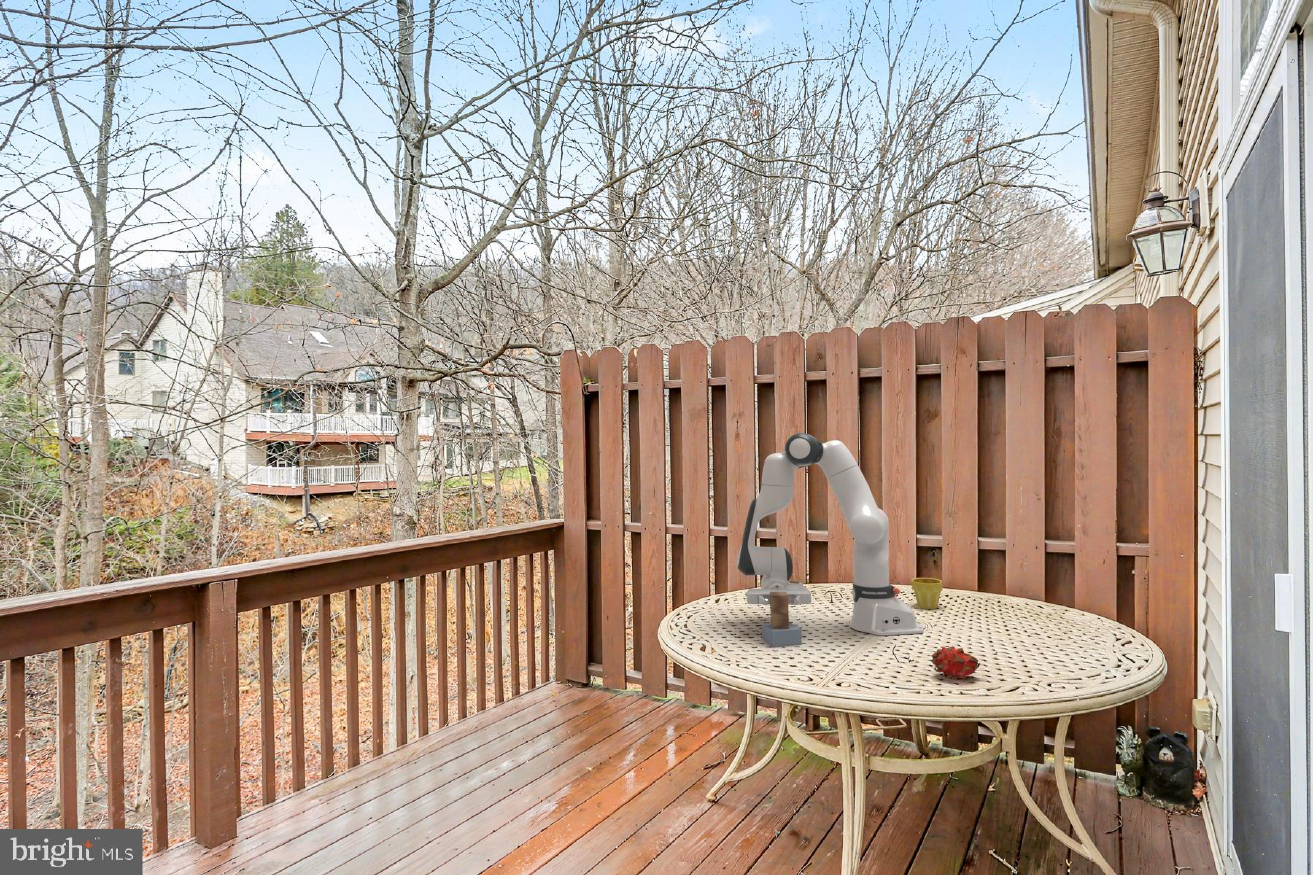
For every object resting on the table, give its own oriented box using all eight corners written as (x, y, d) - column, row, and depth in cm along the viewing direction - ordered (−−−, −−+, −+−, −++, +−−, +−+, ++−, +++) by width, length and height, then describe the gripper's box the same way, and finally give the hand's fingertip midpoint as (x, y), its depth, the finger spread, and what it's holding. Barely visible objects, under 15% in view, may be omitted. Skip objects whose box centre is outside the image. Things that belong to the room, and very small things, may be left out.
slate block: (789, 637, 202) (788, 621, 202) (801, 645, 194) (801, 629, 194) (762, 639, 200) (762, 623, 200) (773, 648, 192) (773, 631, 192)
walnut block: (787, 624, 199) (786, 591, 200) (789, 628, 194) (788, 595, 195) (770, 624, 200) (769, 591, 200) (772, 628, 195) (771, 595, 195)
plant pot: (916, 610, 230) (915, 583, 230) (909, 603, 240) (908, 577, 240) (946, 610, 228) (945, 583, 228) (938, 603, 238) (937, 577, 239)
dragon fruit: (927, 681, 166) (976, 689, 164) (937, 671, 159) (988, 679, 157) (925, 648, 171) (973, 656, 169) (934, 637, 164) (984, 645, 162)
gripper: (744, 582, 212) (746, 592, 198) (807, 582, 210) (813, 591, 197) (744, 601, 212) (747, 612, 198) (807, 601, 210) (814, 612, 196)
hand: (780, 602), depth 197 cm, fingers open, 8 cm apart
